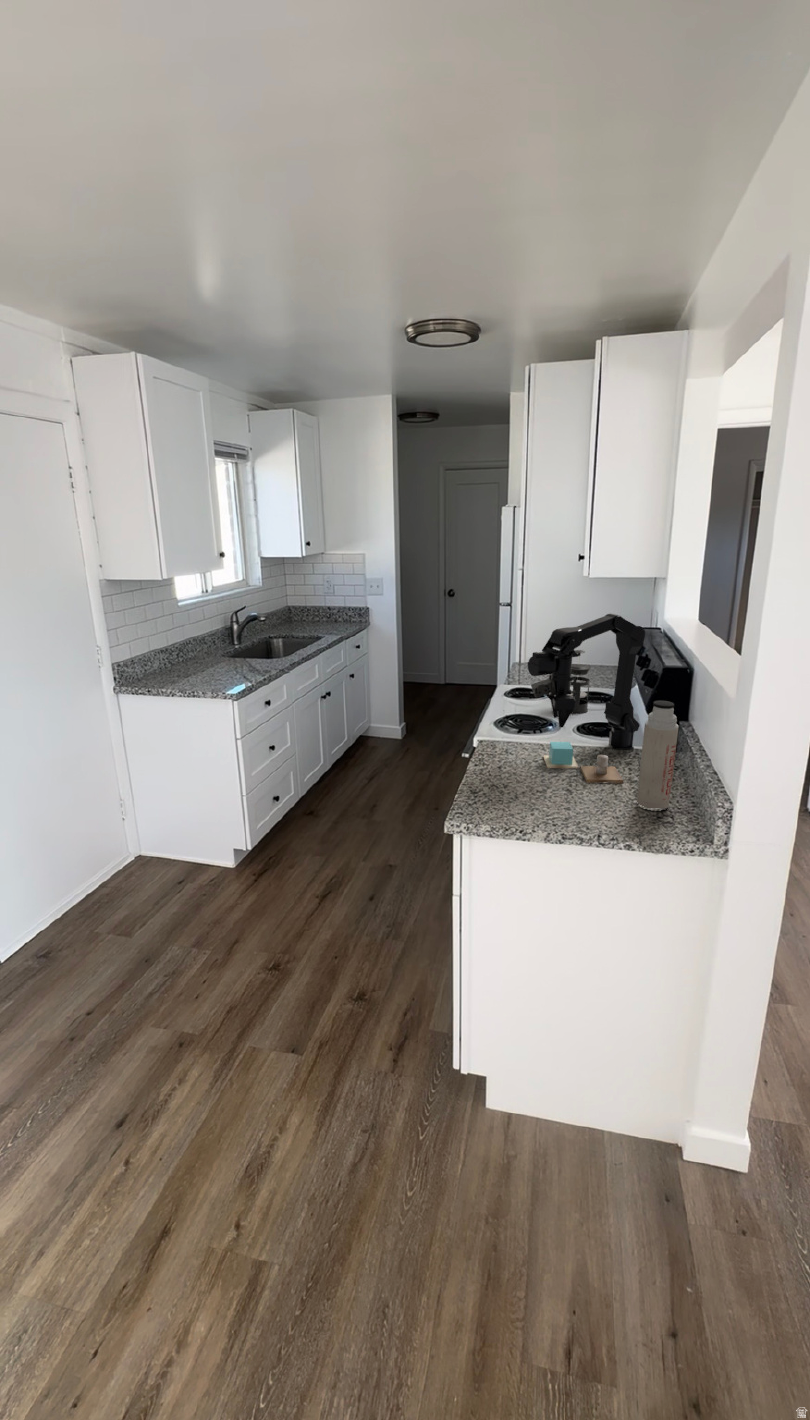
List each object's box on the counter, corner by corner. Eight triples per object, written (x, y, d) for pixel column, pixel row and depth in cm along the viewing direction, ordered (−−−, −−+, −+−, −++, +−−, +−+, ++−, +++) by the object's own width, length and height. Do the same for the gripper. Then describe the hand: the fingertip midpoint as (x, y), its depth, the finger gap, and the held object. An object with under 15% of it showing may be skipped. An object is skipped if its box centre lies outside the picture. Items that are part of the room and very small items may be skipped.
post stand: (614, 769, 198) (616, 750, 196) (623, 783, 188) (625, 763, 186) (580, 769, 198) (581, 750, 196) (587, 782, 189) (588, 762, 187)
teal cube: (568, 757, 206) (569, 742, 204) (572, 764, 200) (573, 748, 198) (548, 757, 206) (549, 741, 204) (551, 764, 200) (552, 748, 199)
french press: (588, 706, 257) (592, 648, 251) (591, 714, 249) (596, 653, 242) (556, 705, 259) (560, 647, 252) (558, 713, 250) (562, 652, 243)
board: (572, 757, 207) (572, 755, 207) (578, 768, 199) (578, 766, 198) (543, 756, 208) (543, 755, 207) (547, 767, 199) (547, 766, 199)
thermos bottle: (675, 807, 173) (688, 704, 164) (653, 814, 169) (665, 709, 161) (651, 796, 180) (663, 696, 171) (629, 802, 176) (640, 700, 168)
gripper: (529, 664, 207) (527, 712, 212) (538, 680, 189) (536, 732, 194) (565, 664, 207) (562, 712, 211) (578, 680, 189) (574, 732, 194)
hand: (558, 722), depth 203 cm, fingers open, 9 cm apart
